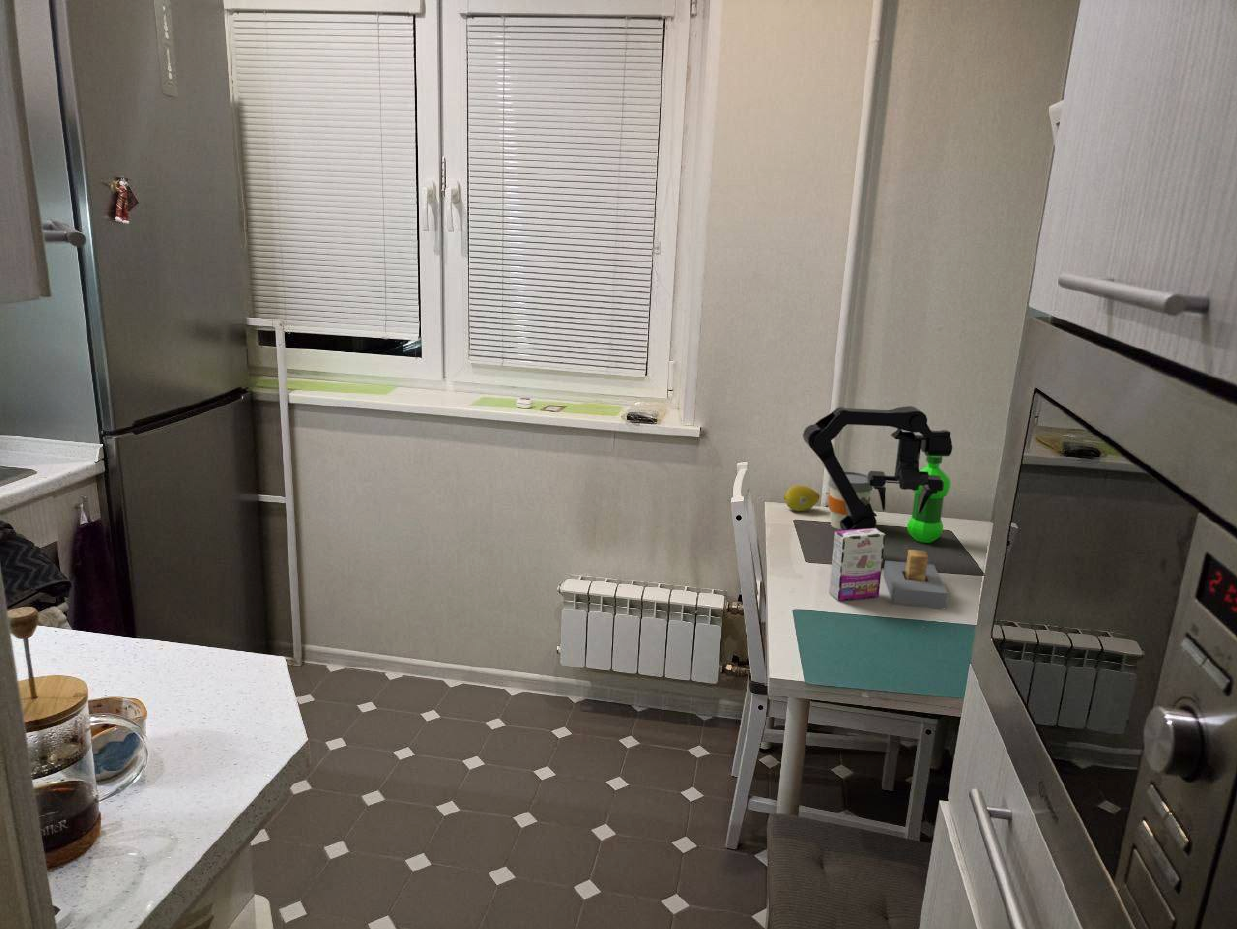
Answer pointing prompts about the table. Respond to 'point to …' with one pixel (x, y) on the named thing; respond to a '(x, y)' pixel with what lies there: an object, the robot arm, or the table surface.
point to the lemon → (801, 498)
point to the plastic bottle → (929, 507)
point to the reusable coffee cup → (836, 500)
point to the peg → (916, 565)
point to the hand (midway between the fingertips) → (901, 511)
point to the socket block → (914, 587)
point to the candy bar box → (857, 564)
